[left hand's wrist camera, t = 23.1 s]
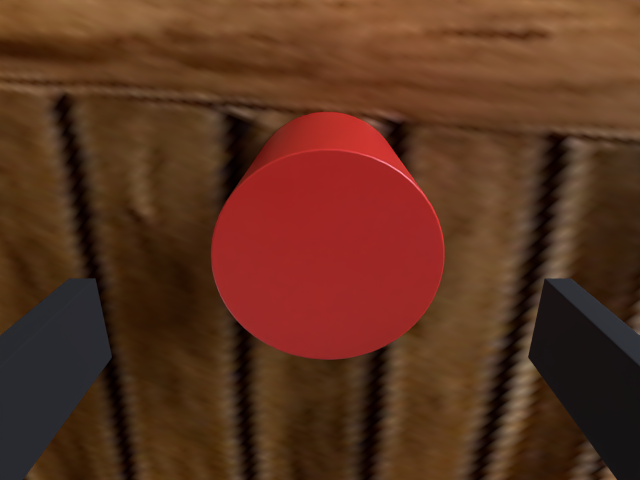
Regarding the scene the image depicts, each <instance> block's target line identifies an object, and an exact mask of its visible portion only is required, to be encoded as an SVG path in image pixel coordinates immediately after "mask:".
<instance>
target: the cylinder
mask: <svg viewBox="0 0 640 480" xmlns="http://www.w3.org/2000/svg"><path fill="white" fill-rule="evenodd" d="M211 264H212V271H213V276H214V280H215V283H216V286H217V288H218V291H219V294H220V296H221V298H222V300H223V301H224V303H225V305H226V307H227V308H228V310H229V311H230V312H231V314H232V315H233V316H234V318H235V319H236V320H237V321H238V322H239V323H240V324H241V325H242V326H243V327H244V328H245V329H246V330H247V331H249V332H250V333H251V334H252V335H253V336H255V337H256V338H258V339H259V340H261V341H263V342H264V343H266V344H268V345H270V346H272V347H274V348H276V349H278V350H280V351H283V352H286V353H289V354H292V355H296V356H300V357H304V358H312V359H331V360H332V359H344V358H350V357H355V356H360V355H363V354H366V353H369V352H372V351H375V350H377V349H379V348H382V347H384V346H386V345H387V344H389V343H391V342H393V341H394V340H396V339H397V338H399V337H400V336H402V335H403V334H404V333H406V332H407V331H408V330H409V329H410V328H411V327H412V326H413V325H414V324H415V323H416V322H417V321H418V320H419V319H420V318H421V316H422V315H423V314H424V313H425V312H426V310H427V308H428V307H429V305H430V304H431V302H432V300H433V298H434V296H435V294H436V292H437V289H438V287H439V284H440V280H441V277H442V273H443V266H444V241H443V234H442V230H441V227H440V223H439V220H438V217H437V215H436V213H435V211H434V209H433V207H432V205H431V204H430V202H429V201H428V199H427V198H426V196H425V195H424V193H423V192H422V190H421V189H420V187H419V186H418V185H417V183H416V182H415V180H414V179H413V178H412V176H411V175H410V173H409V172H408V171H407V169H406V168H405V166H404V165H403V164H402V162H401V161H400V159H399V158H398V157H397V155H396V154H395V152H394V151H393V150H392V148H391V147H390V145H389V144H388V143H387V141H386V140H385V139H384V138H383V136H382V135H381V134H380V133H379V132H378V131H377V130H375V129H374V128H373V127H372V126H370V125H369V124H367V123H366V122H364V121H362V120H360V119H358V118H356V117H353V116H350V115H347V114H343V113H336V112H318V113H311V114H308V115H304V116H301V117H299V118H296V119H294V120H292V121H290V122H288V123H287V124H285V125H284V126H282V127H281V128H280V129H279V130H277V131H276V132H275V133H274V134H273V135H272V136H271V137H270V138H269V140H268V141H267V143H266V144H265V145H264V147H263V148H262V150H261V151H260V153H259V154H258V155H257V157H256V158H255V160H254V161H253V163H252V164H251V166H250V167H249V169H248V170H247V172H246V173H245V174H244V176H243V177H242V179H241V180H240V182H239V183H238V185H237V186H236V188H235V189H234V191H233V192H232V193H231V195H230V196H229V198H228V199H227V201H226V202H225V204H224V206H223V208H222V210H221V212H220V214H219V216H218V219H217V222H216V224H215V227H214V232H213V237H212V242H211Z"/></svg>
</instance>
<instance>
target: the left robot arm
mask: <svg viewBox="0 0 640 480" xmlns="http://www.w3.org/2000/svg"><path fill="white" fill-rule="evenodd" d="M111 358H112V356H111V351H110V346H109V341H108V337H107V332H106V327H105V322H104V318H103V313H102V308H101V303H100V299H99V294H98V289H97V284H96V280H95V279H68V280H67V281H66V282H64V283H63V284H62V285H61V286H60V287H58V288H57V289H56V290H55V291H54V292H52V293H51V294H50V295H49V296H48V297H46V298H45V299H44V300H43V301H41V302H40V303H39V304H38V305H37V306H35V307H34V308H33V309H32V310H31V311H29V312H28V313H27V314H26V315H25V316H23V317H22V318H21V319H20V320H19V321H17V322H16V323H15V324H14V325H13V326H11V327H10V328H9V329H8V330H6V331H5V332H4V333H3V334H2V335H0V480H23V479H24V477H25V476H26V475H27V473H28V472H29V471H30V469H31V468H32V466H33V465H34V464H35V462H36V461H37V460H38V458H39V457H40V455H41V454H42V453H43V451H44V450H45V449H46V447H47V446H48V444H49V443H50V442H51V440H52V439H53V438H54V436H55V435H56V433H57V432H58V431H59V429H60V428H61V427H62V425H63V424H64V422H65V421H66V420H67V418H68V417H69V416H70V414H71V413H72V411H73V410H74V409H75V407H76V406H77V405H78V403H79V402H80V400H81V399H82V398H83V396H84V395H85V393H86V392H87V391H88V389H89V388H90V387H91V385H92V384H93V382H94V381H95V380H96V378H97V377H98V376H99V374H100V373H101V371H102V370H103V369H104V367H105V366H106V365H107V363H108V362H109V360H110V359H111ZM528 358H529V359H530V360H531V362H532V363H533V365H534V366H535V367H536V369H537V370H538V371H539V373H540V374H541V376H542V377H543V378H544V380H545V381H546V382H547V384H548V385H549V387H550V388H551V389H552V391H553V392H554V393H555V395H556V396H557V398H558V399H559V400H560V402H561V403H562V405H563V406H564V407H565V409H566V410H567V411H568V413H569V414H570V416H571V417H572V418H573V420H574V421H575V422H576V424H577V425H578V427H579V428H580V429H581V431H582V432H583V433H584V435H585V436H586V438H587V439H588V440H589V442H590V443H591V444H592V446H593V447H594V449H595V450H596V451H597V453H598V454H599V455H600V457H601V458H602V460H603V461H604V462H605V464H606V465H607V466H608V468H609V469H610V471H611V472H612V473H613V475H614V476H615V477H616V479H617V480H640V335H638V334H637V333H636V332H635V331H634V330H632V329H631V328H630V327H629V326H627V325H626V324H625V323H624V322H623V321H621V320H620V319H619V318H618V317H617V316H615V315H614V314H613V313H612V312H611V311H609V310H608V309H607V308H606V307H605V306H603V305H602V304H601V303H600V302H599V301H597V300H596V299H595V298H594V297H592V296H591V295H590V294H589V293H588V292H586V291H585V290H584V289H583V288H582V287H580V286H579V285H578V284H577V283H576V282H574V281H573V280H572V279H545V280H544V284H543V289H542V294H541V299H540V303H539V308H538V313H537V318H536V322H535V327H534V332H533V337H532V341H531V346H530V351H529V356H528Z"/></svg>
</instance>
